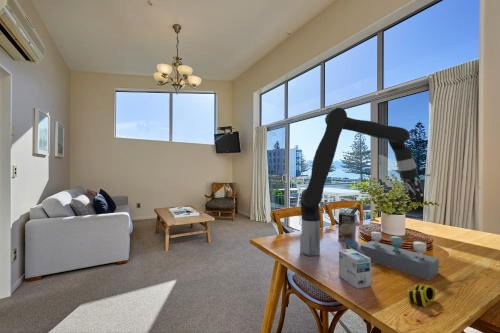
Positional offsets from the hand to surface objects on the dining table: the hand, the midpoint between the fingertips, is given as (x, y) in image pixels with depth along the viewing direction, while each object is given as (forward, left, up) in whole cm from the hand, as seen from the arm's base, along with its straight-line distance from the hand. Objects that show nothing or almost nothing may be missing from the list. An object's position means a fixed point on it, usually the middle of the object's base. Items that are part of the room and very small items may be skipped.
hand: (415, 200), depth 115 cm
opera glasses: (-41, -16, -29) cm, 52 cm away
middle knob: (-17, +2, -23) cm, 29 cm away
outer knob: (-17, -7, -23) cm, 30 cm away
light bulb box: (-47, +5, -28) cm, 55 cm away
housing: (-17, +2, -28) cm, 33 cm away
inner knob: (-17, +11, -23) cm, 31 cm away
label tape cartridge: (-36, +11, -28) cm, 47 cm away
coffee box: (-5, +34, -28) cm, 44 cm away
